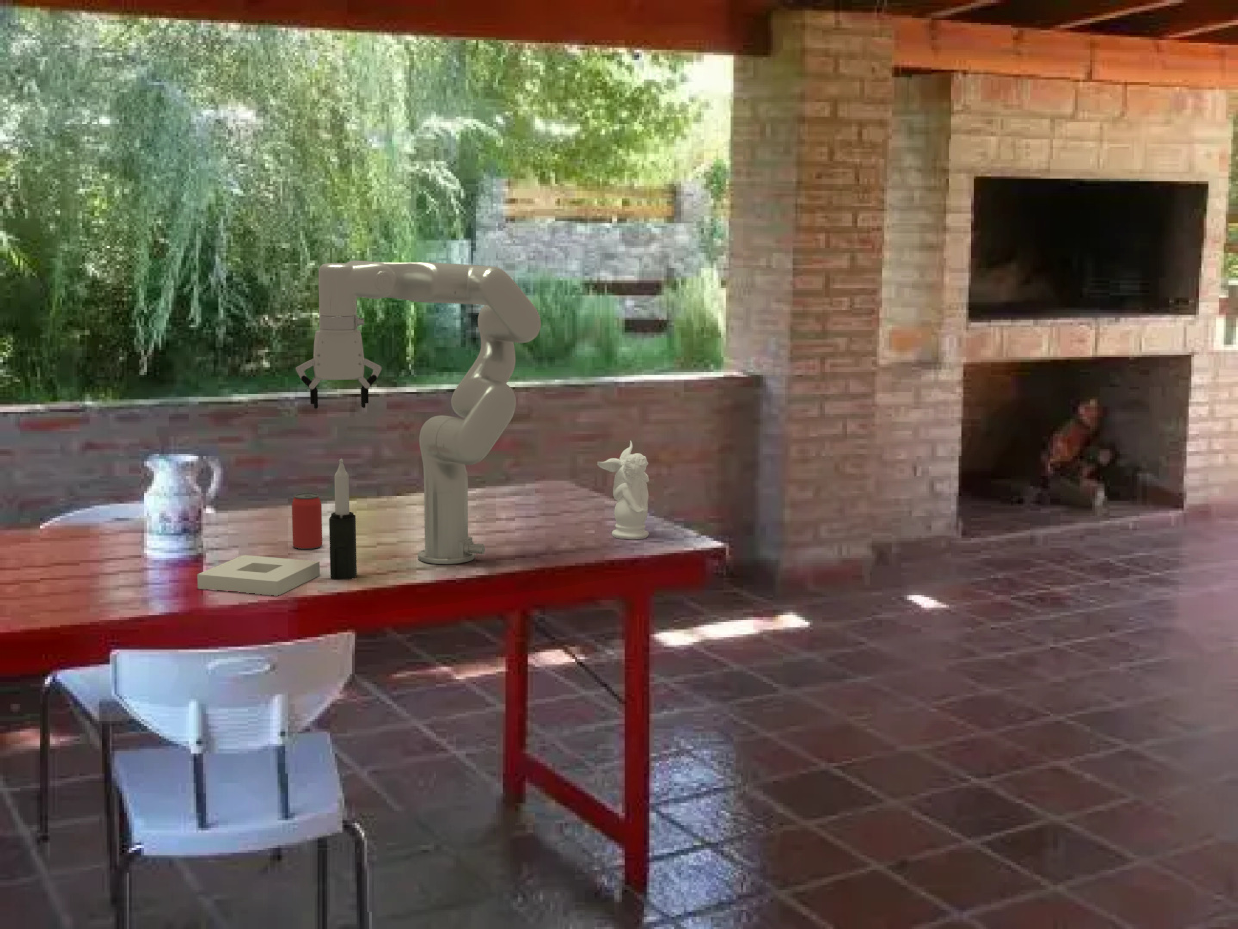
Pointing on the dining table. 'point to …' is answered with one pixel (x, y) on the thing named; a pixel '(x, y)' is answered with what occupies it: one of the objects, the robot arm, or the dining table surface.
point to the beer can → (307, 521)
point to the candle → (342, 530)
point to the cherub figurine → (629, 494)
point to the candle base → (259, 575)
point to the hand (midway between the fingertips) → (339, 407)
